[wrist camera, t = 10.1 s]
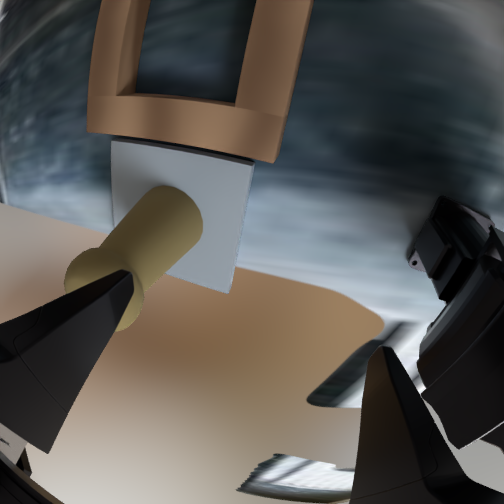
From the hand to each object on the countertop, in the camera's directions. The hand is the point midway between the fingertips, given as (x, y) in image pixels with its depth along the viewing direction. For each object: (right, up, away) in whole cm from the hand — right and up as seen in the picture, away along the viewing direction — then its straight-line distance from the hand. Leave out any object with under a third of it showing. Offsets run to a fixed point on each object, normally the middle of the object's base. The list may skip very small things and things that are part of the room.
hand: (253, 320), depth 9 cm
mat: (-7, +5, +14) cm, 17 cm away
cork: (-7, +5, +13) cm, 16 cm away
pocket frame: (-4, +17, +6) cm, 18 cm away
